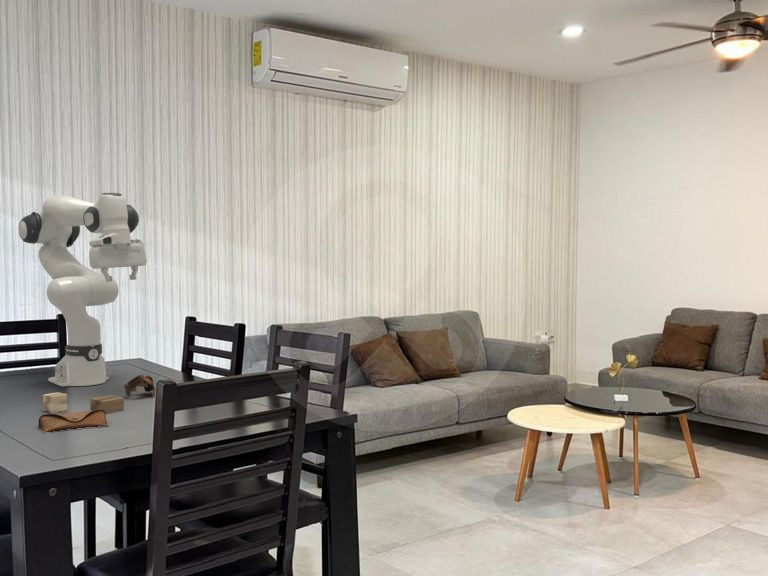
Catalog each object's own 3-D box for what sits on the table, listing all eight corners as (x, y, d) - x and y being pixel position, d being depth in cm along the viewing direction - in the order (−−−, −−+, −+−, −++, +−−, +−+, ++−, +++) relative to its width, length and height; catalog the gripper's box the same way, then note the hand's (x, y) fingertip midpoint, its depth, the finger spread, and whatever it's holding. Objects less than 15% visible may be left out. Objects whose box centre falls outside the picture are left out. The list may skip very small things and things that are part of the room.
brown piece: (153, 401, 251) (139, 380, 249) (130, 412, 253) (116, 391, 251) (165, 385, 262) (153, 365, 260) (143, 395, 264) (130, 376, 262)
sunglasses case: (41, 433, 205) (39, 409, 208) (39, 441, 211) (37, 418, 213) (111, 426, 214) (108, 403, 217) (107, 434, 220) (105, 411, 222)
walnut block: (90, 411, 233) (90, 398, 233) (111, 407, 239) (110, 395, 238) (102, 415, 229) (102, 401, 229) (123, 411, 234) (123, 398, 234)
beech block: (43, 410, 233) (43, 394, 233) (58, 408, 237) (58, 392, 236) (51, 413, 230) (51, 396, 229) (67, 410, 234) (67, 394, 233)
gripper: (137, 240, 268) (141, 279, 268) (84, 241, 251) (89, 283, 251) (148, 238, 264) (152, 277, 264) (95, 239, 247) (100, 282, 248)
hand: (121, 280), depth 258 cm, fingers open, 8 cm apart
